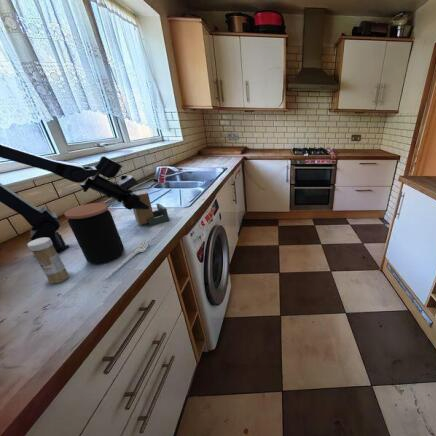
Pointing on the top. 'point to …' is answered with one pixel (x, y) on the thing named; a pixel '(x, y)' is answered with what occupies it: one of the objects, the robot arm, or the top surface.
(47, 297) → the top surface
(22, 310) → the top surface
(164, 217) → the cradle
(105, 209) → the coffee jar
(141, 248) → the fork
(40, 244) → the sprinkles bottle
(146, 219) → the brown box
